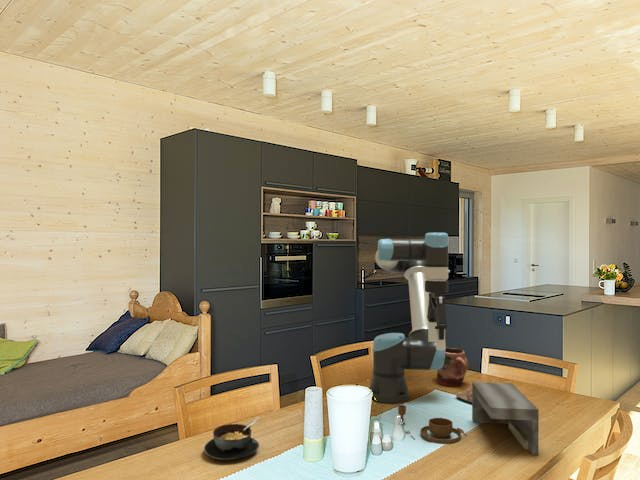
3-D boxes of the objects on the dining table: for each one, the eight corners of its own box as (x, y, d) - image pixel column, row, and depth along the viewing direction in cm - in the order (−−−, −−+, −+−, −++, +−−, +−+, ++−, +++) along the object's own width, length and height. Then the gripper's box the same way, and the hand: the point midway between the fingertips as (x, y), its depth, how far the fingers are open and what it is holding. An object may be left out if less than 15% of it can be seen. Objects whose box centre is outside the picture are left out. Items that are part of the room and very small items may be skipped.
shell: (474, 394, 193) (475, 384, 193) (501, 403, 182) (502, 393, 182) (452, 397, 187) (453, 387, 187) (479, 407, 176) (479, 397, 176)
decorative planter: (480, 389, 198) (480, 354, 198) (454, 393, 193) (454, 356, 194) (450, 376, 216) (450, 344, 217) (426, 379, 212) (426, 346, 212)
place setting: (421, 448, 143) (421, 427, 143) (394, 423, 162) (394, 405, 162) (476, 443, 147) (476, 422, 147) (444, 419, 166) (444, 401, 166)
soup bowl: (202, 443, 145) (202, 417, 145) (258, 437, 150) (258, 412, 150) (205, 465, 131) (206, 436, 131) (267, 458, 135) (267, 430, 135)
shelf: (491, 453, 138) (491, 407, 138) (472, 420, 164) (472, 382, 164) (538, 455, 137) (538, 409, 137) (511, 422, 162) (512, 383, 163)
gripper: (457, 282, 151) (457, 353, 151) (440, 277, 176) (440, 338, 176) (432, 282, 152) (431, 353, 151) (418, 277, 177) (418, 338, 176)
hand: (436, 345), depth 164 cm, fingers open, 13 cm apart
